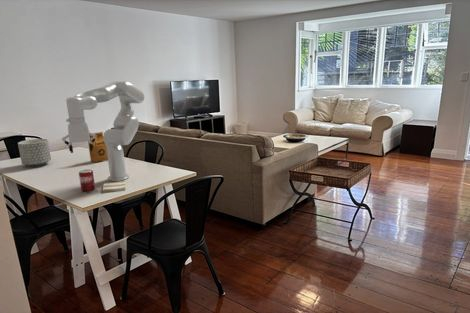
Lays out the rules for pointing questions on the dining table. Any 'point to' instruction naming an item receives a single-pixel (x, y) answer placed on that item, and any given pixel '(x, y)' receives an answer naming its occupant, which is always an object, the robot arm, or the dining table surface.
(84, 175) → the soda can
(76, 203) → the dining table surface
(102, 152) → the coffee package
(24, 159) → the planter
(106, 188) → the birch board
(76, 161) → the dining table surface
